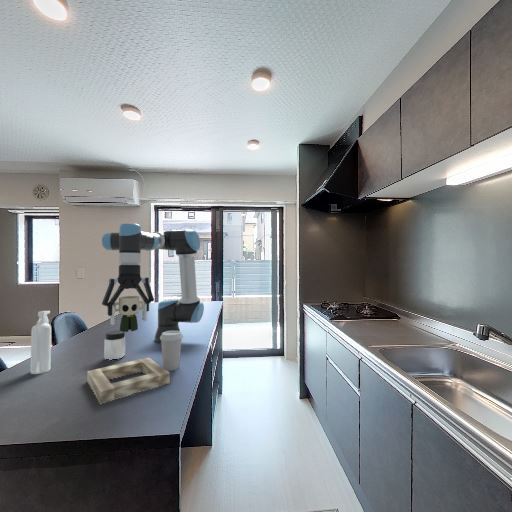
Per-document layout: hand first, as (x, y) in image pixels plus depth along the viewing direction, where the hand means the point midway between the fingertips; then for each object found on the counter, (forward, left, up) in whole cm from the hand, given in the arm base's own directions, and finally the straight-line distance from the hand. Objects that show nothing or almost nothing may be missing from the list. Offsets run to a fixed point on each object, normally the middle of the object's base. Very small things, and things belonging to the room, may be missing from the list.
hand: (128, 322), depth 103 cm
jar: (-3, -33, -23) cm, 40 cm away
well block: (0, 0, -23) cm, 23 cm away
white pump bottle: (+25, -35, -23) cm, 48 cm away
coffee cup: (-18, -3, -23) cm, 30 cm away
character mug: (0, 0, -4) cm, 4 cm away
